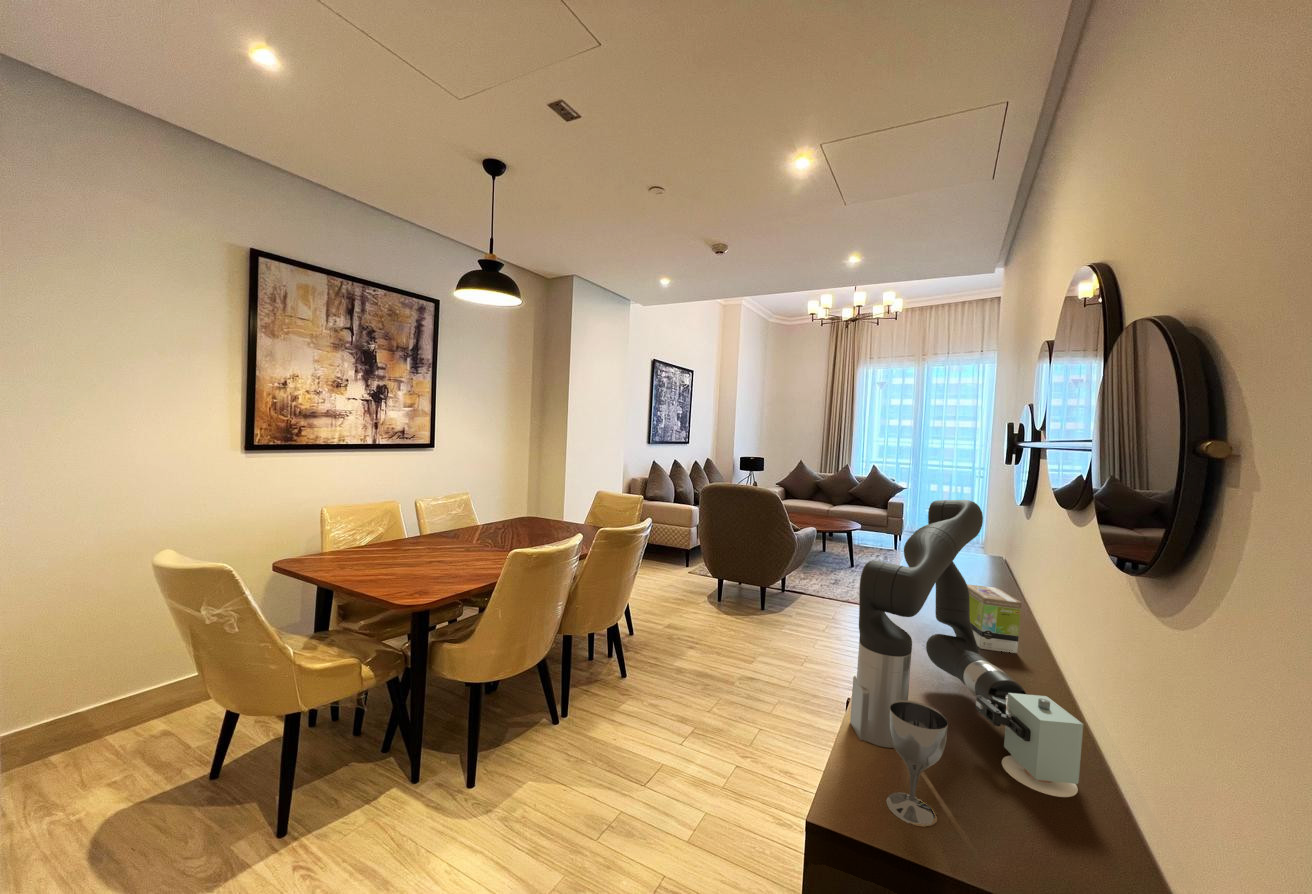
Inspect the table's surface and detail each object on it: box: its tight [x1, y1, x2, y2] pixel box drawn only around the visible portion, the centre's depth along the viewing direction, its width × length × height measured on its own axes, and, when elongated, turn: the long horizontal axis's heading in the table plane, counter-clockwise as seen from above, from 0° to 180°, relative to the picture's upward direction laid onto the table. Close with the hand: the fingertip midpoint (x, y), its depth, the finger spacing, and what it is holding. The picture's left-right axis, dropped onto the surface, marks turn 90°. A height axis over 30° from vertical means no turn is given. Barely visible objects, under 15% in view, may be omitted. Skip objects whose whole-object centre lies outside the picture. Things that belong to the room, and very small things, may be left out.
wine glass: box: [885, 700, 949, 825], centre depth 77 cm, size 8×8×15 cm
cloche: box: [1003, 693, 1084, 785], centre depth 86 cm, size 7×9×11 cm
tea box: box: [967, 584, 1022, 654], centre depth 148 cm, size 15×10×15 cm, turn 168°
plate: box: [1001, 754, 1079, 798], centre depth 86 cm, size 10×10×1 cm
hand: (1051, 738), depth 84 cm, fingers closed on cloche, 6 cm apart
